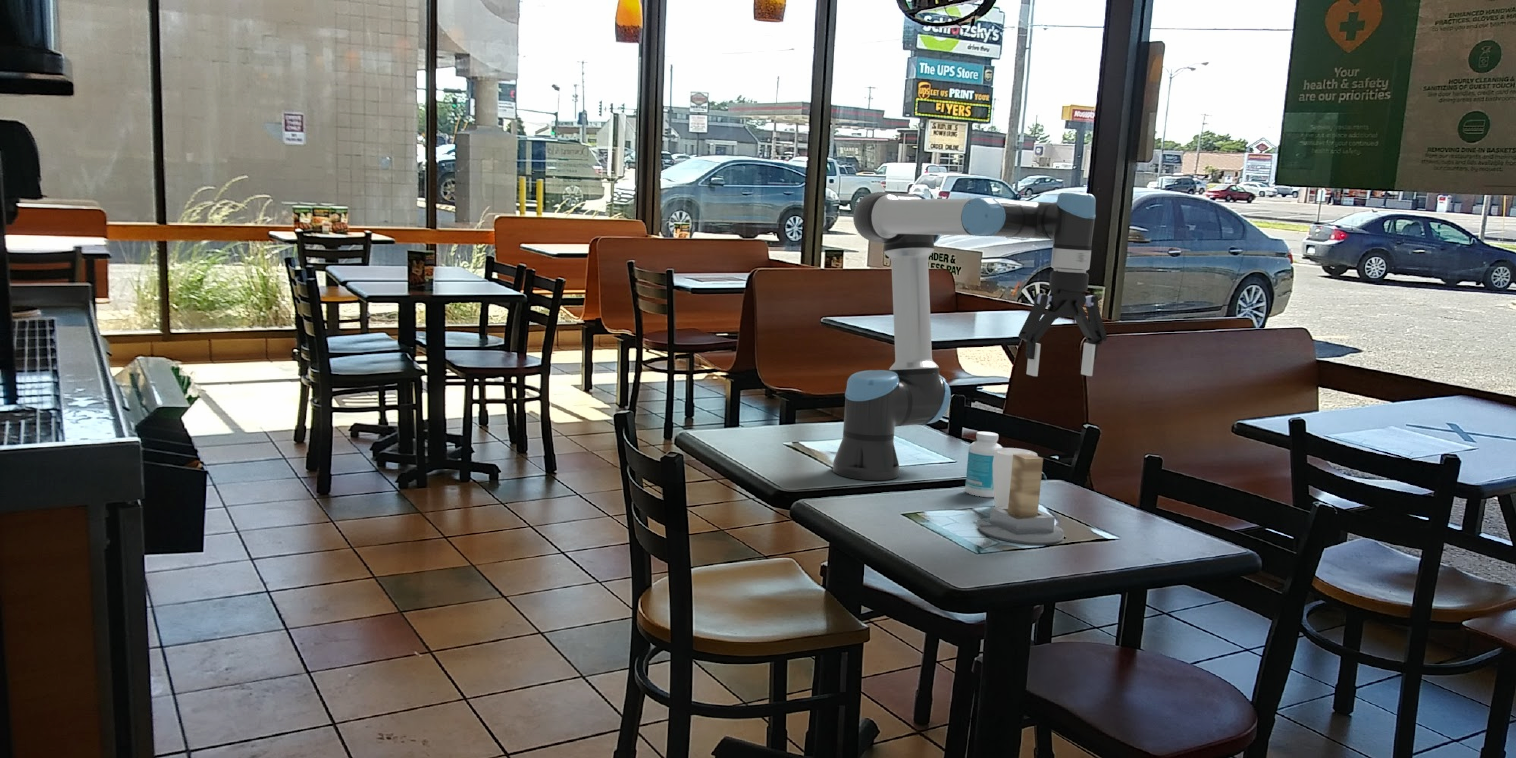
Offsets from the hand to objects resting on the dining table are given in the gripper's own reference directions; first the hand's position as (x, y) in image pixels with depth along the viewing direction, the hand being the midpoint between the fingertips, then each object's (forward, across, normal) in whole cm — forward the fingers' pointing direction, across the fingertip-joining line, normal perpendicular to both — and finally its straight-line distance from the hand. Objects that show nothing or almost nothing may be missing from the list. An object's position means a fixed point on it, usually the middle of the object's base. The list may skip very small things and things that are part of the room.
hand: (1059, 375), depth 232 cm
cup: (+29, -6, +4) cm, 30 cm away
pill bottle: (+29, -5, +16) cm, 33 cm away
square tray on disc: (+29, -15, -12) cm, 34 cm away
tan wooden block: (+28, -15, -12) cm, 34 cm away
